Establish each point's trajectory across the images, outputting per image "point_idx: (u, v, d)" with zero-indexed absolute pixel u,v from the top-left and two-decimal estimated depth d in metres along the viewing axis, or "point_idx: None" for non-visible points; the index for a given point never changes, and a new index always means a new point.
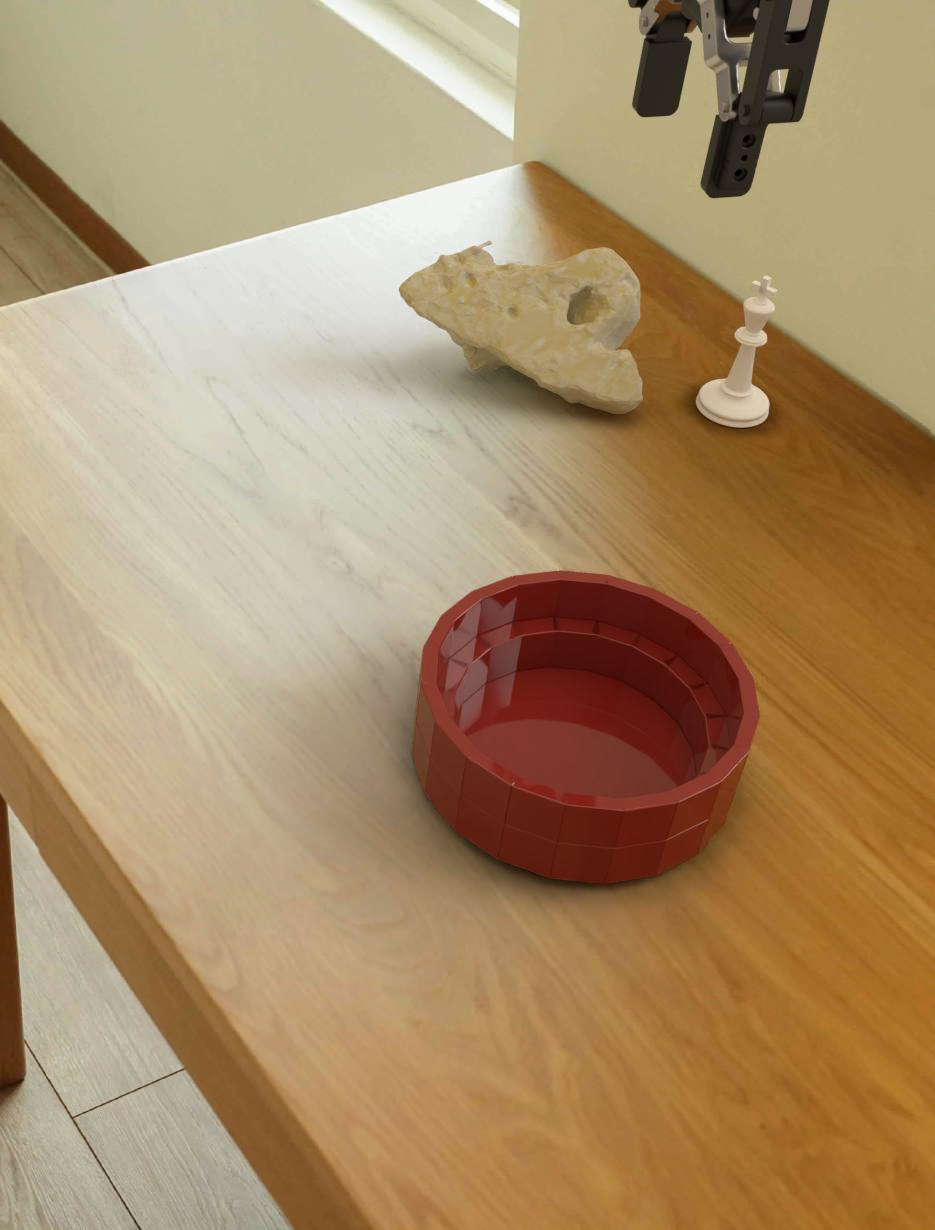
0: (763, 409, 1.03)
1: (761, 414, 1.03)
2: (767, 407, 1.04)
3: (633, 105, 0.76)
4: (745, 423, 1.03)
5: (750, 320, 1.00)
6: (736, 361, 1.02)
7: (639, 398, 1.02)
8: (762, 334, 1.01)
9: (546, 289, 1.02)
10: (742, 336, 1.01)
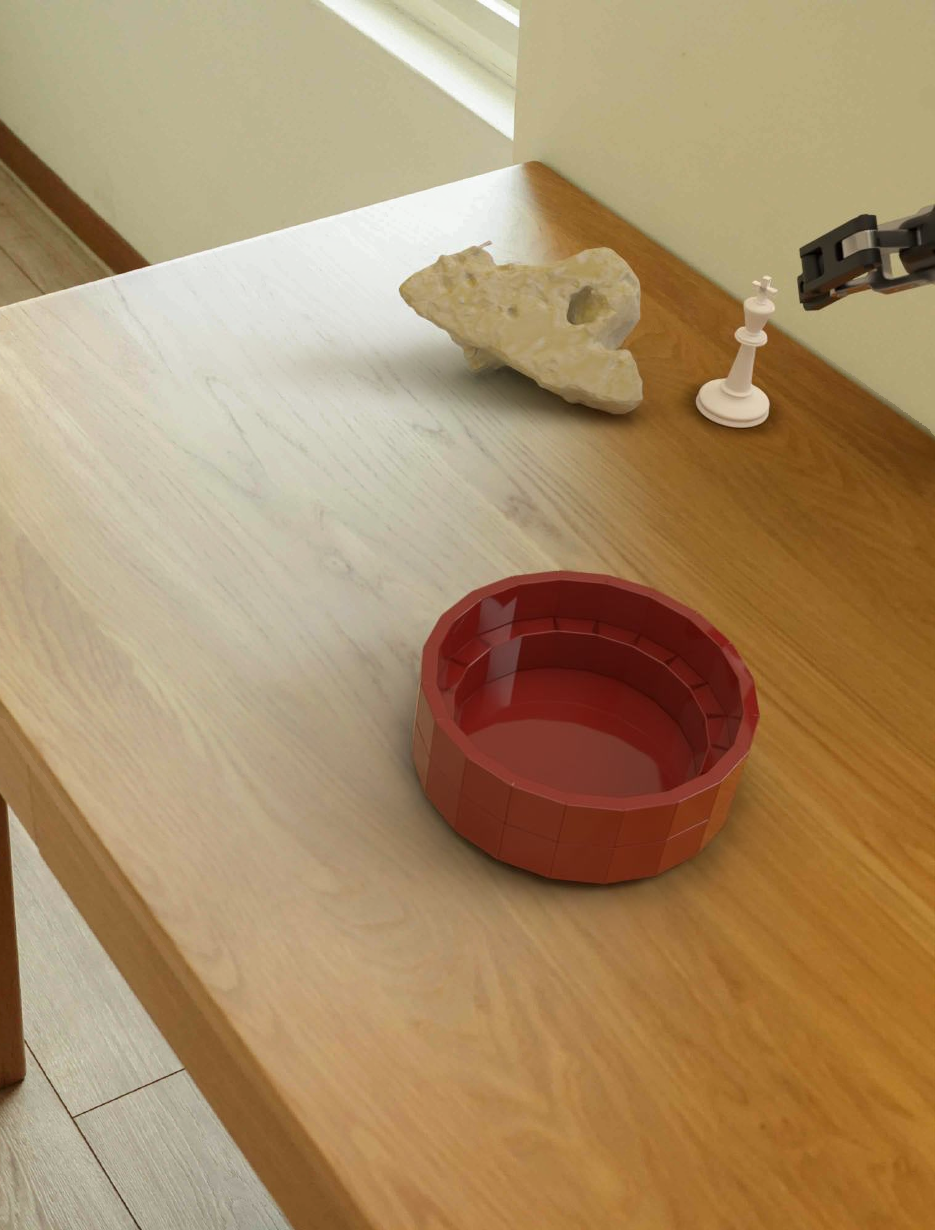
0: (763, 409, 1.03)
1: (761, 414, 1.03)
2: (767, 407, 1.04)
3: (806, 309, 0.85)
4: (745, 423, 1.03)
5: (750, 320, 1.00)
6: (736, 361, 1.02)
7: (639, 398, 1.02)
8: (762, 334, 1.01)
9: (546, 289, 1.02)
10: (742, 336, 1.01)
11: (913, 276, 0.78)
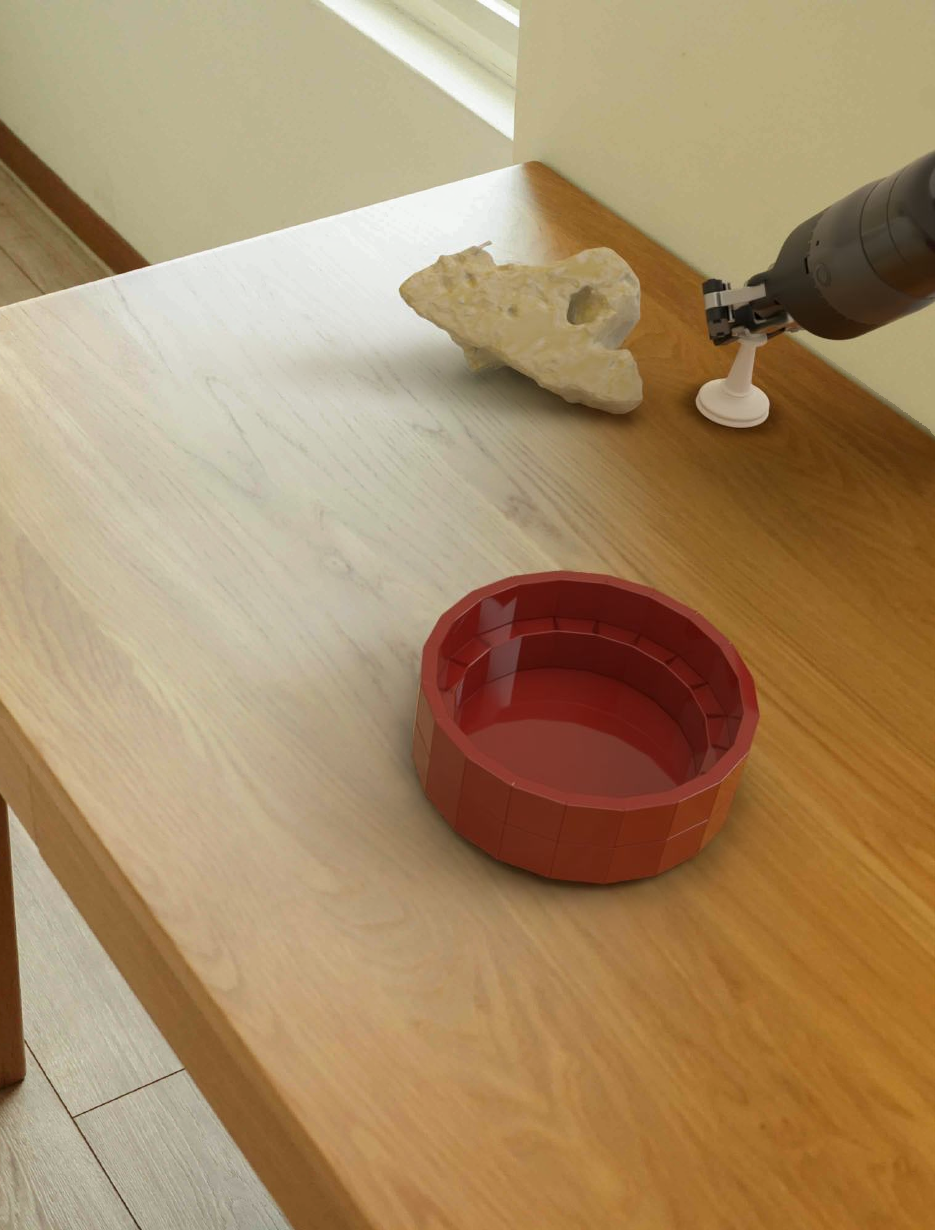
0: (763, 409, 1.03)
1: (761, 414, 1.03)
2: (767, 407, 1.04)
3: (715, 345, 1.03)
4: (745, 423, 1.03)
5: None
6: (736, 361, 1.02)
7: (639, 398, 1.02)
8: (762, 334, 1.01)
9: (546, 289, 1.02)
10: None
11: (769, 321, 0.94)
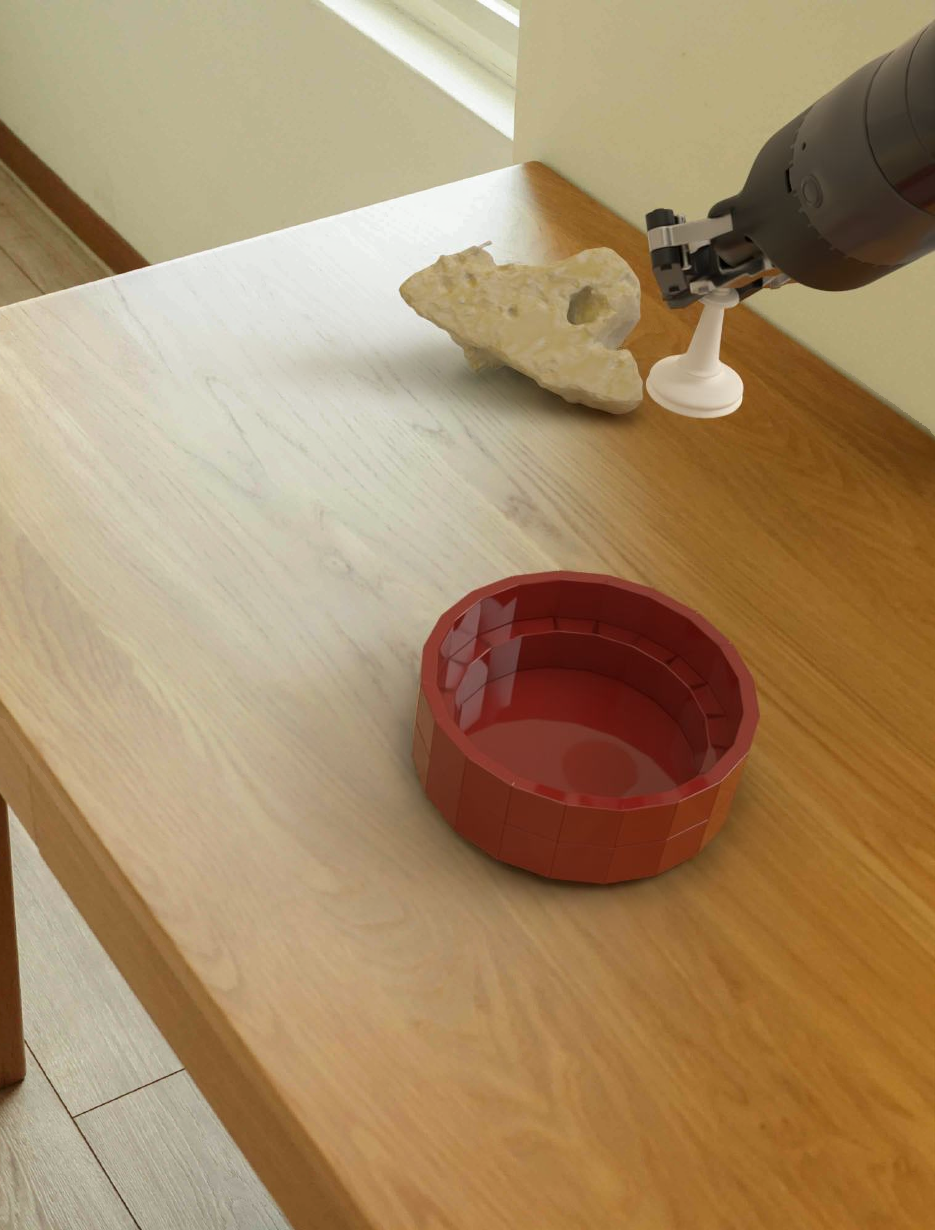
0: (735, 394, 0.78)
1: (732, 401, 0.77)
2: (740, 391, 0.78)
3: (670, 308, 0.77)
4: (710, 412, 0.77)
5: None
6: (698, 329, 0.76)
7: (639, 398, 1.02)
8: (733, 292, 0.75)
9: (546, 289, 1.02)
10: None
11: (739, 269, 0.69)
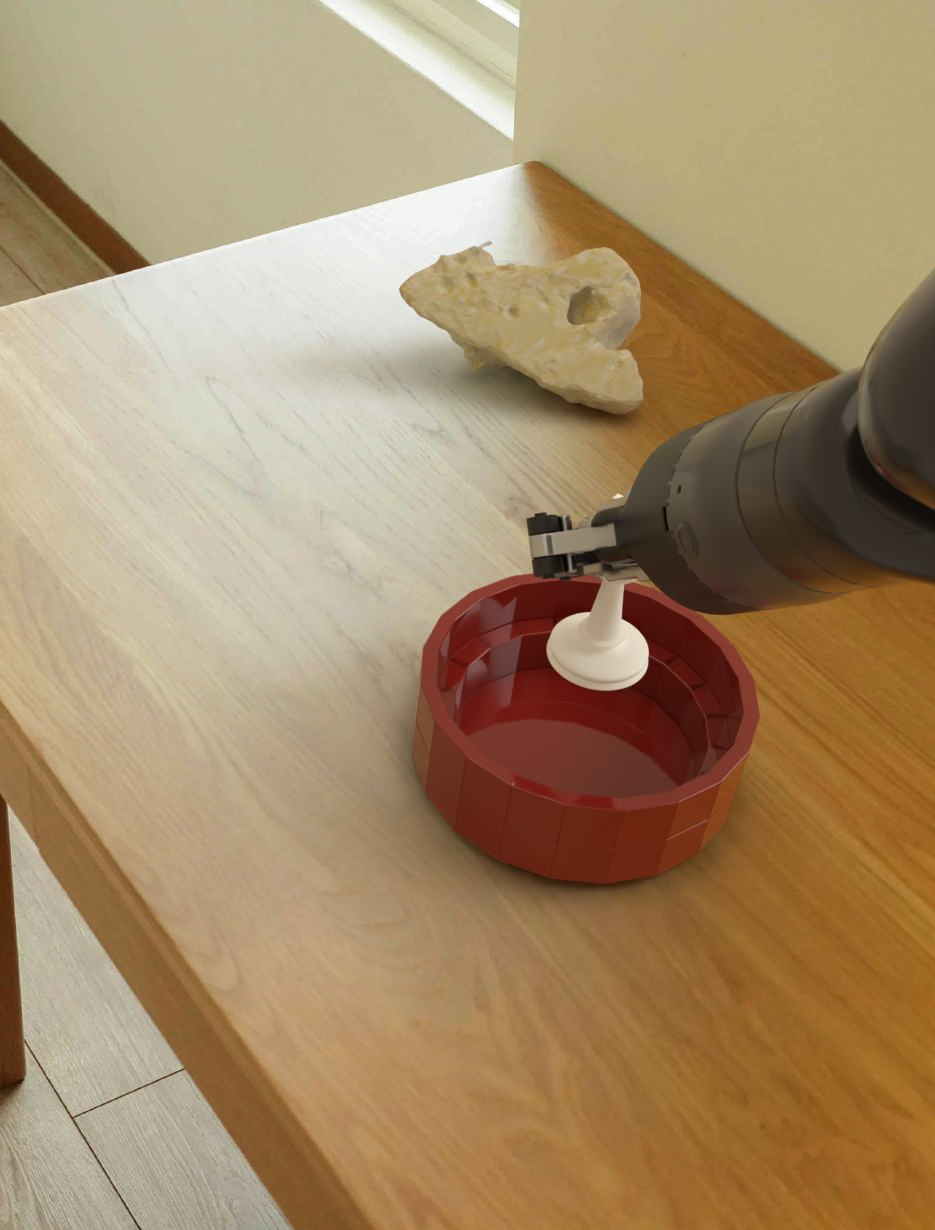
0: (638, 663, 0.73)
1: (635, 672, 0.73)
2: (644, 659, 0.74)
3: None
4: (612, 685, 0.73)
5: None
6: (598, 599, 0.72)
7: (639, 398, 1.02)
8: None
9: (546, 289, 1.02)
10: None
11: (629, 569, 0.64)
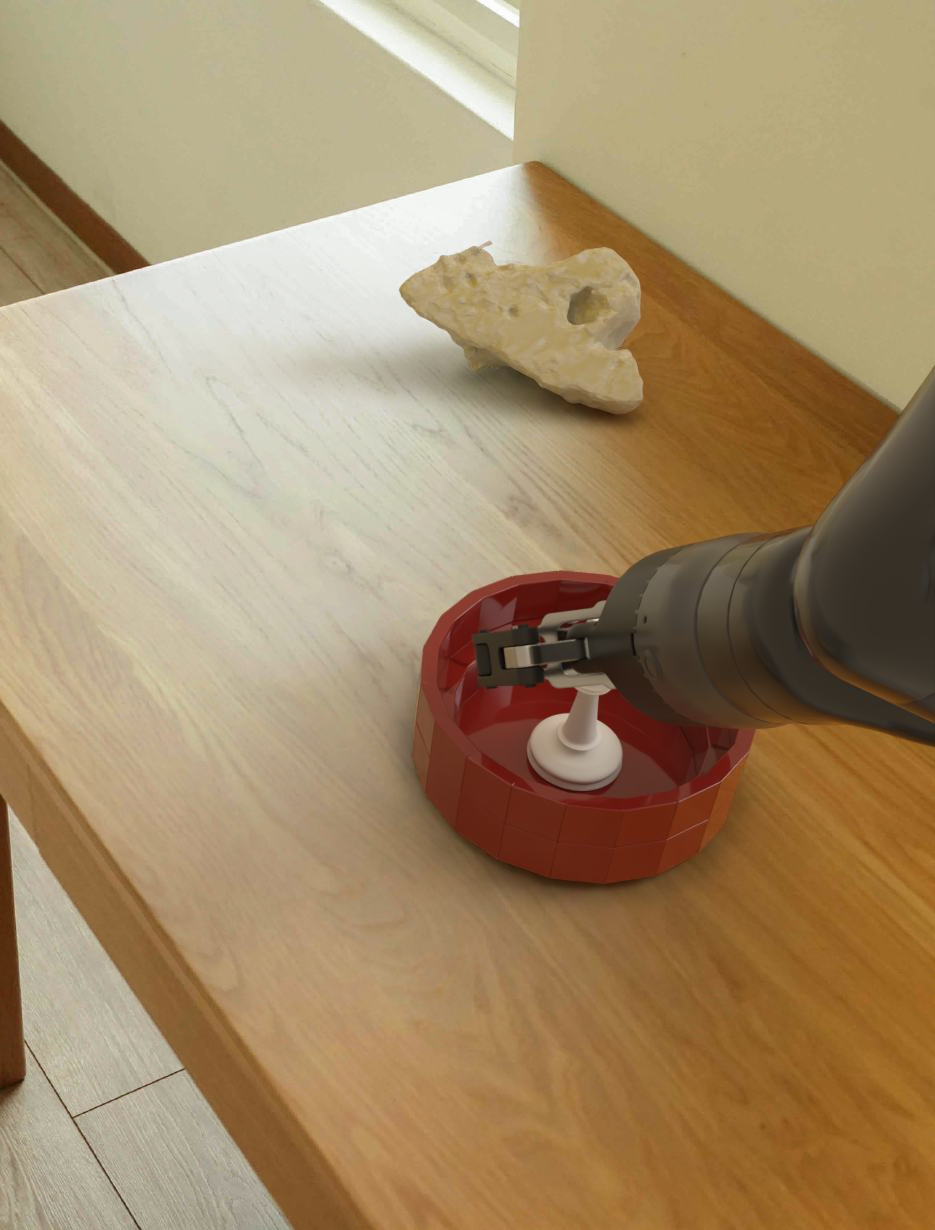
0: (612, 765, 0.78)
1: (609, 774, 0.78)
2: (618, 761, 0.78)
3: None
4: (588, 786, 0.78)
5: None
6: (574, 707, 0.77)
7: (640, 398, 1.02)
8: None
9: (546, 289, 1.02)
10: None
11: (592, 677, 0.68)
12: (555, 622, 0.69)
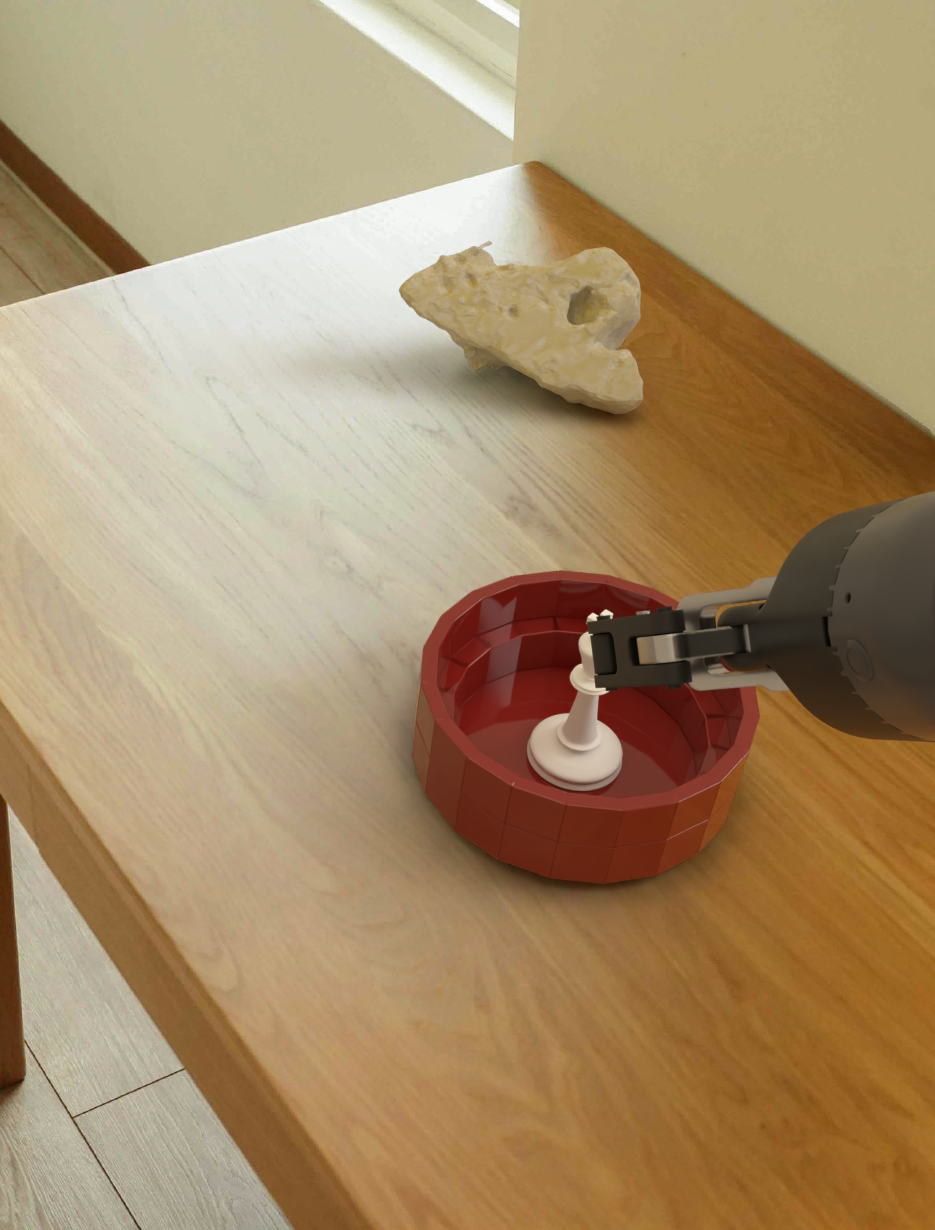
0: (612, 765, 0.78)
1: (609, 774, 0.78)
2: (618, 761, 0.78)
3: None
4: (588, 786, 0.78)
5: (587, 664, 0.74)
6: (574, 707, 0.77)
7: (640, 398, 1.02)
8: None
9: (546, 289, 1.02)
10: (578, 680, 0.75)
11: (746, 676, 0.53)
12: (696, 606, 0.54)
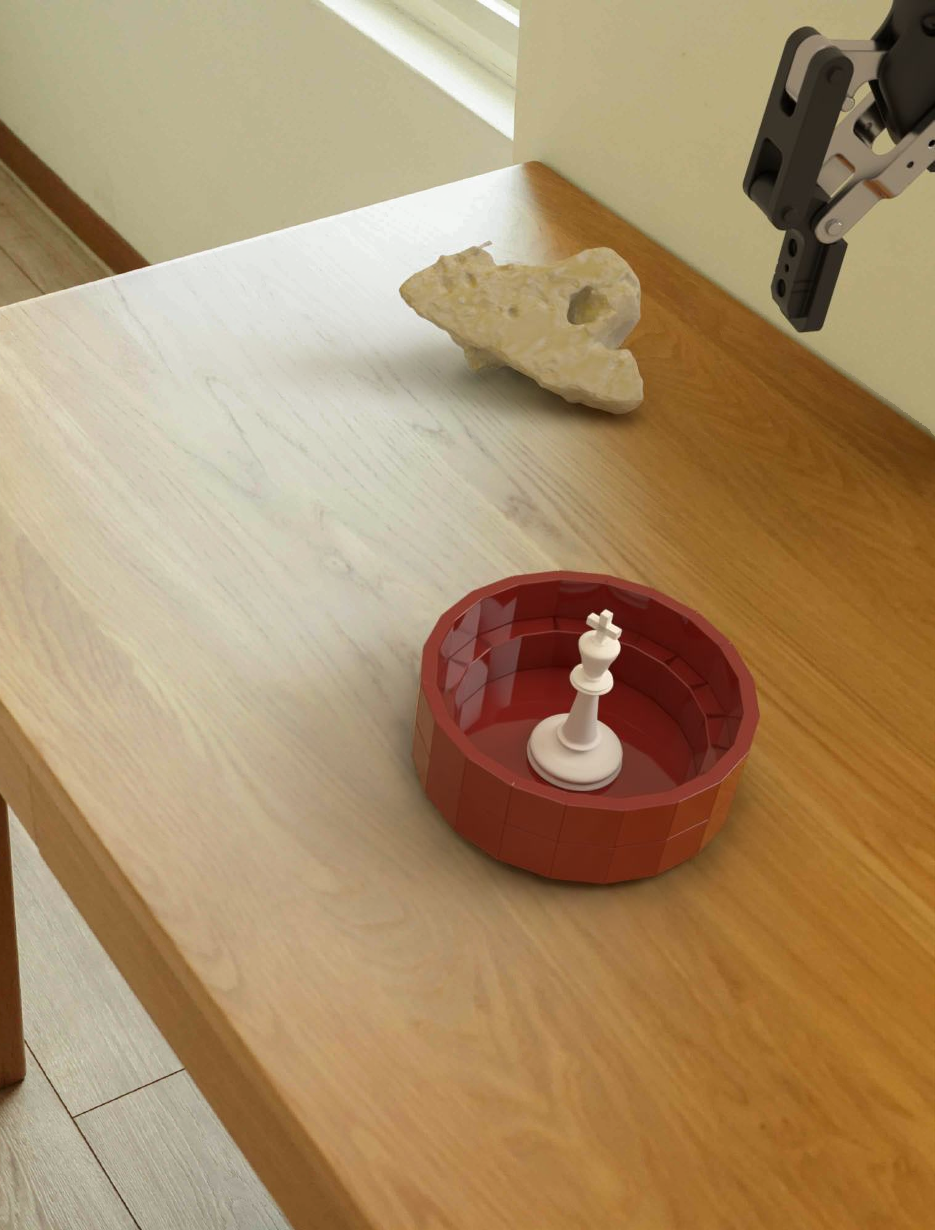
0: (612, 765, 0.78)
1: (609, 774, 0.78)
2: (618, 761, 0.78)
3: (803, 329, 0.55)
4: (588, 786, 0.78)
5: (587, 664, 0.74)
6: (574, 707, 0.77)
7: (640, 398, 1.02)
8: (607, 677, 0.76)
9: (546, 289, 1.02)
10: (578, 680, 0.75)
11: (920, 125, 0.50)
12: (846, 128, 0.52)
